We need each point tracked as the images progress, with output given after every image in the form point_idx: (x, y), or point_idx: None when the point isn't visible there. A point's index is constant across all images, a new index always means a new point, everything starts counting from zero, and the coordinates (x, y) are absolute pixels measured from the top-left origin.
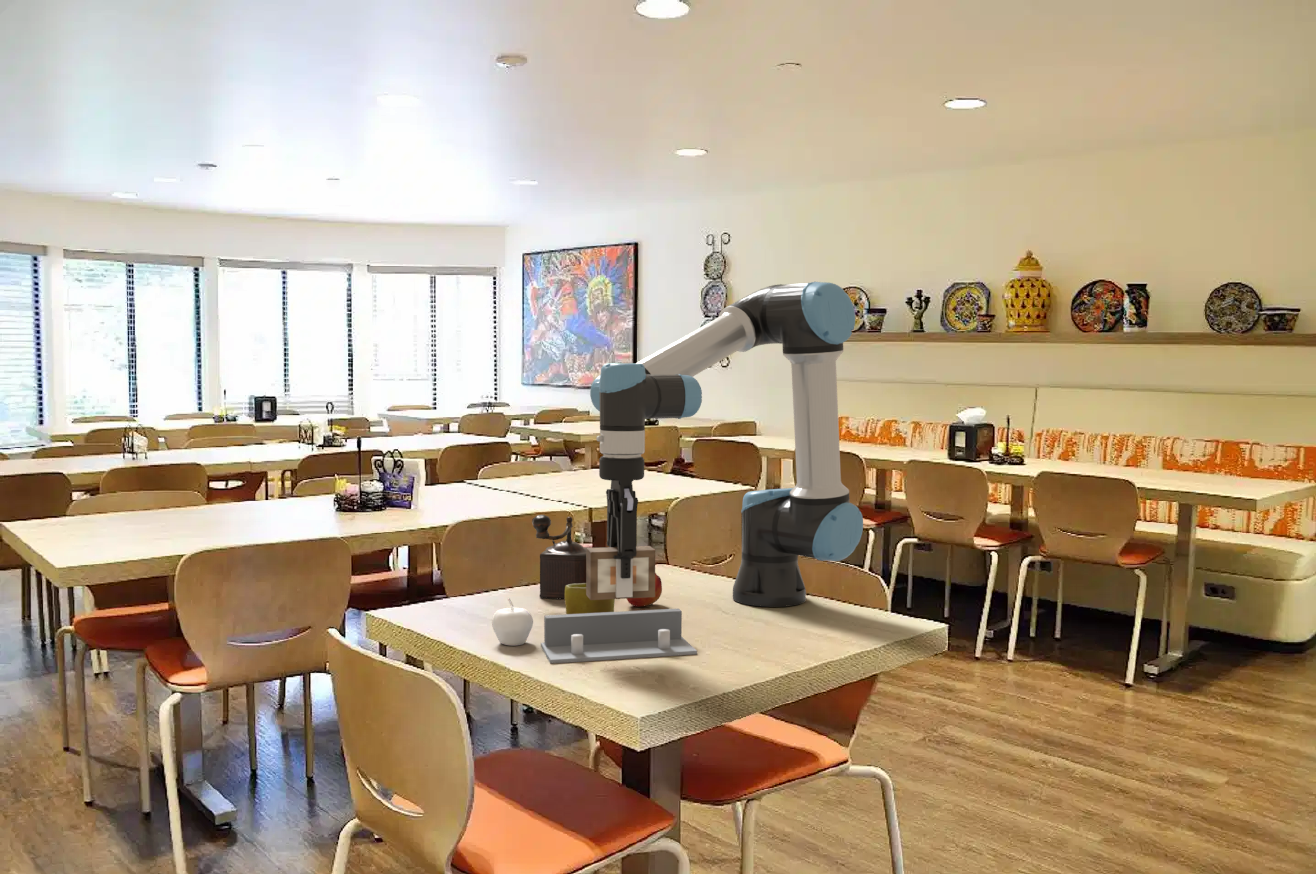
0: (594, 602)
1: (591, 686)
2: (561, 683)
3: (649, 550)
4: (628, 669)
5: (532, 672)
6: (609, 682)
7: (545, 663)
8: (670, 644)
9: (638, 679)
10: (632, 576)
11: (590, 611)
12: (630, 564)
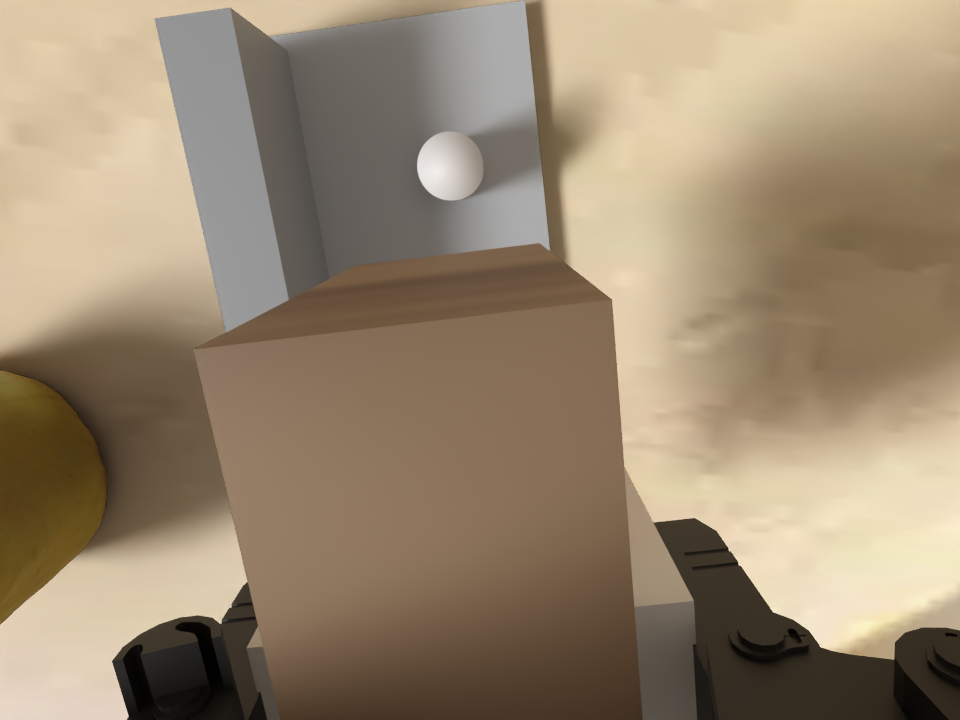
0: (12, 527)
1: (915, 518)
2: (850, 615)
3: (613, 400)
4: (719, 363)
5: None
6: (882, 452)
7: None
8: (393, 127)
9: (870, 337)
10: (637, 494)
11: (51, 523)
12: (759, 598)
